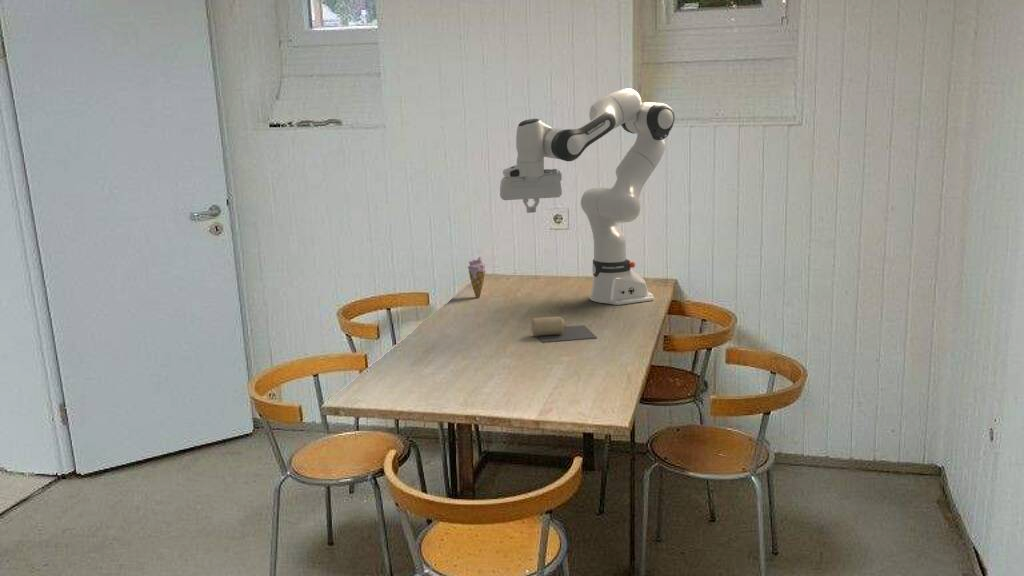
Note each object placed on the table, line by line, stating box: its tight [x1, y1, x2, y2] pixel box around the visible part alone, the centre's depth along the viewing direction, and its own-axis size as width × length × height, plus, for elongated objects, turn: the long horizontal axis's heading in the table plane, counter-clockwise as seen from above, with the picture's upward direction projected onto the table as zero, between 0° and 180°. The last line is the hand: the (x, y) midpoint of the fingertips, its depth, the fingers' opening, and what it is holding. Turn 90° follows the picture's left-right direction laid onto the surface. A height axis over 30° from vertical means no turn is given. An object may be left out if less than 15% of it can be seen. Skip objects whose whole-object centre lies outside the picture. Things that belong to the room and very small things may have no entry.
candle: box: [531, 316, 567, 337], centre depth 278 cm, size 6×6×10 cm
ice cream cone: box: [467, 256, 486, 299], centre depth 326 cm, size 7×6×15 cm
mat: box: [536, 324, 598, 344], centre depth 280 cm, size 17×14×1 cm
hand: (531, 212), depth 298 cm, fingers closed
